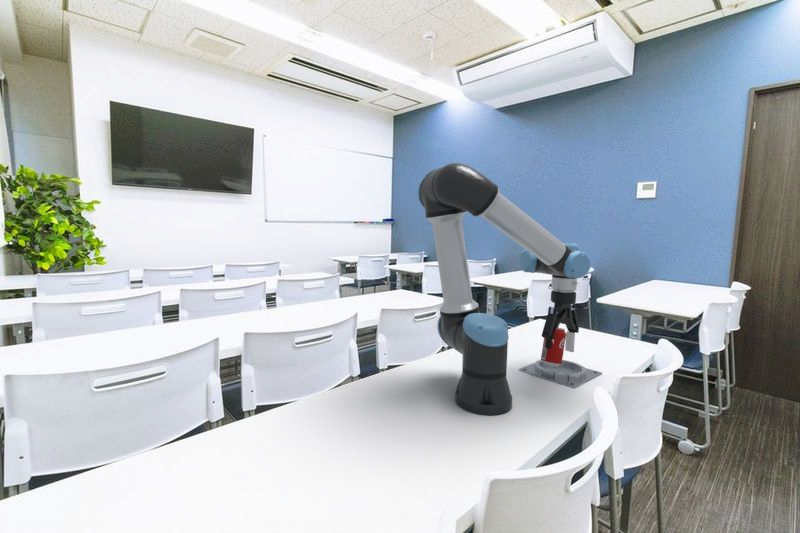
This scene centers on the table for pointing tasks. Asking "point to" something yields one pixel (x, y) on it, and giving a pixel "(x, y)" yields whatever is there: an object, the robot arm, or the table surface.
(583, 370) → the duct flange
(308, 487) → the table surface
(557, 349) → the beverage can
